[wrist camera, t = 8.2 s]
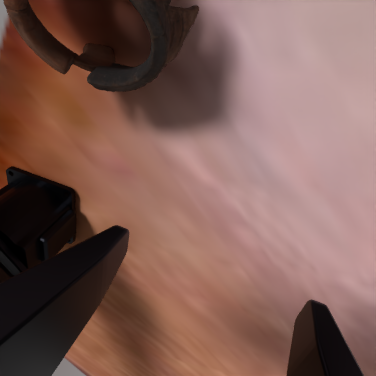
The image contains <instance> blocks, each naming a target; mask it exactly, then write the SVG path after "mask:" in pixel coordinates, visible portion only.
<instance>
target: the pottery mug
mask: <svg viewBox="0 0 376 376" xmlns="http://www.w3.org/2000/svg"><path fill="white" fill-rule="evenodd" d="M130 2H131V3H132V4H133V5H134V7H135V8H136V9H137V10H138V12H139V13H140V15H141V16H142V18H143V20H144V21H145V23H146V26H147V28H148V30H149V32H150V37H151V53H150V55H149V57H148V59H147V60H146V61H145V62H144V63H143V64H141V65H139V66H137V67H128V66H124V65H120V64H117V63H115V57H114V53H113V50H112V49H111V48H109V47H107V46H103V45H98V44H92V43H88V44H86V45H85V46H84V48H83V53H82V54H81V55H80V56H79V55H77V54H76V53H74V52H73V51H71V50H69V49H68V48H67V47H65V46H64V45H63V44H61V43H60V42H59V41H58V40H57V39H56V38H54V37H53V35H52V34H51V33H49V32H48V31H47V29H46V28H45V27H44V26H43V24H42V23H41V22H40V20H39V19H38V18H37V16H36V15H35V13H34V12H33V10H32V8H31V6H30V4H29V2H28V0H4V5H5V6H6V9H7V13H8V15H9V17H10V19H11V21H12V23H13V24H14V26H15V28H16V29H17V31H18V33H19V34H20V36H21V37H22V39H23V40H24V41H25V42H26V44H27V45H28V46H29V47H30V48H31V49H32V50H33V51H34V52H35V53H36V54H37V55H38V56H39V57H40V58H41V59H42V60H43V61H45V62H46V63H47V64H49V65H50V66H51V67H52V68H54V69H55V70H57V71H59V72H60V73H62V74H66V73H67V72H68V70H69V69H70V67H71V65H72V64H74V65H76V66H78V67H80V68H82V69H84V70H87V71H90V72H91V73H90V74H89V76H88V77H87V81H88V83H89V84H91V85H92V86H93V87H95V88H96V89H99V90H105V91H112V92H115V91H131V90H136V89H138V88H140V87H142V86H145V85H146V84H147V83H149V82H151V81H152V80H153V79H155V78H157V76H158V75H159V73H160V72H161V70H162V69H163V68H164V67H165V66H166V65H167V63H168V62H170V61H172V60H173V59H174V58H175V57H176V56H177V54H178V53H179V51H180V49H181V47H182V45H183V42H184V40H185V38H186V36H187V34H188V32H189V30H190V28H191V26H192V25H193V24H194V21H195V19H196V16H197V14H198V11H199V7H198V6H192V7H190V8H180V7H171V6H169V4H170V2H171V0H130Z"/></svg>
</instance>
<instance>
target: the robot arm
mask: <svg viewBox="0 0 376 376" xmlns="http://www.w3.org/2000/svg"><path fill="white" fill-rule="evenodd" d="M6 174H7V180H8V185H6V186H5V187H3V188H2V189H0V376H52V374H53V372H54V371H55V370H56V368H57V366H58V365H59V364H60V362H61V361H62V359H63V358H64V356H65V355H66V353H67V352H68V350H69V349H70V348H71V346H72V345H73V343H74V342H75V340H76V339H77V337H78V336H79V334H80V333H81V331H82V330H83V328H84V327H85V325H86V324H87V322H88V321H89V319H90V318H91V317H92V315H93V314H94V312H95V311H96V309H97V307H98V306H99V304H100V303H101V301H102V299H103V297H104V296H105V294H106V292H107V290H108V288H109V286H110V284H111V282H112V280H113V278H114V276H115V275H116V273H117V271H118V269H119V267H120V265H121V263H122V261H123V259H124V257H125V255H126V252H127V248H128V240H129V230H128V229H126V228H123V227H121V226H118V225H115V226H112V227H110V228H108V229H106V230H105V231H103V232H101V233H99V234H97V235H95V236H93V237H91V238H89V239H87V240H85V241H83V242H81V243H79V244H77V245H75V246H73V247H71V248H69V249H67V250H65V251H63V252H61V253H59V254H57V253H58V252H59V251H60V250H61V249H62V248H63V246H64V245H65V244H66V243H69V244H72V243H73V242H74V241H75V233H76V213H75V192H74V190H73V189H72V188H70V187H68V186H65V185H62V184H59V183H57V182H54V181H51V180H49V179H46V178H43V177H40V176H38V175H35V174H32V173H30V172H27V171H24V170H21V169H19V168H16V167H13V166H11V167H9V168H8V169H7V170H6ZM56 254H57V255H56ZM287 376H364V375H363V373H362V371H361V369H360V367H359V365H358V363H357V362H356V360H355V358H354V356H353V354H352V352H351V350H350V348H349V346H348V345H347V343H346V341H345V339H344V337H343V335H342V333H341V331H340V330H339V328H338V326H337V324H336V322H335V320H334V318H333V316H332V314H331V313H330V311H329V309H328V307H327V306H326V305H325V304H323V303H320V302H318V301H315V300H312V299H311V300H309V301H308V302H307V303H306V304H305V306H304V307H303V309H302V310H301V312H300V313H299V314H298V316H297V318H296V321H295V325H294V331H293V337H292V344H291V350H290V356H289V363H288V369H287Z"/></svg>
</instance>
